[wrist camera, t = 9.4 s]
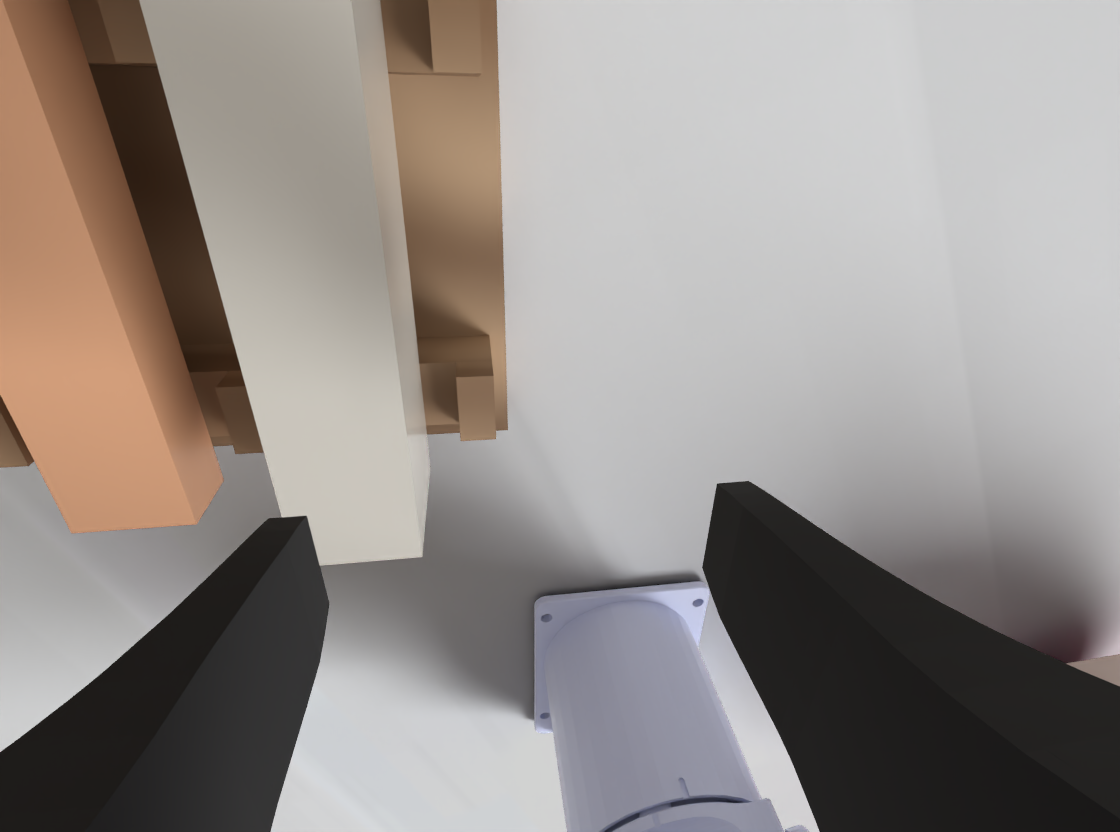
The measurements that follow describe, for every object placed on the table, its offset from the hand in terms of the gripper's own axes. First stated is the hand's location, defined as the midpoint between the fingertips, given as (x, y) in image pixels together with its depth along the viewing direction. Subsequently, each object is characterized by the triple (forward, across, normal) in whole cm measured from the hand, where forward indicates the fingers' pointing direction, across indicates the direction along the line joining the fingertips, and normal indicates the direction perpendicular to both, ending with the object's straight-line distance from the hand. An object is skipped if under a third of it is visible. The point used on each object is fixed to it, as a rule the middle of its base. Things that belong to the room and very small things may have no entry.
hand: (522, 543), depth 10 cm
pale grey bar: (+7, +4, -4) cm, 9 cm away
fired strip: (+7, +10, -4) cm, 13 cm away
